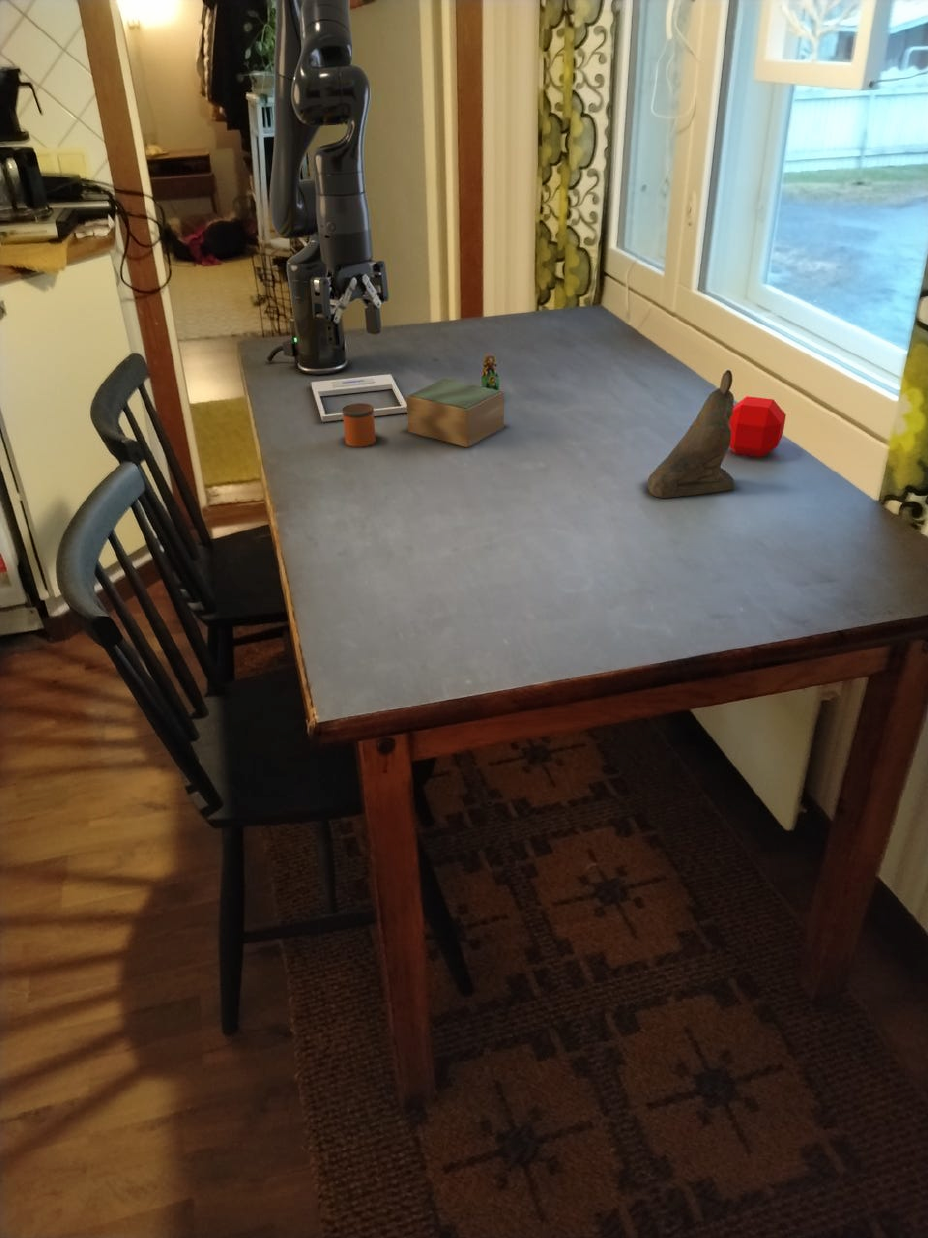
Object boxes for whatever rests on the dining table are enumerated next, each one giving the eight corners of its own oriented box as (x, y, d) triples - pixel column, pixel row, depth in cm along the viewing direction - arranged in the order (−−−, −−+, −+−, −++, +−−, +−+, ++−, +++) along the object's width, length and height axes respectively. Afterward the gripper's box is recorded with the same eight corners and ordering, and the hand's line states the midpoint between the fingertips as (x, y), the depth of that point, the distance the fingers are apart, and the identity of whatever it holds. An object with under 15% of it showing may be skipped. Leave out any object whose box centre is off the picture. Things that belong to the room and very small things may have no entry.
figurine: (495, 388, 172) (495, 343, 167) (503, 412, 162) (502, 364, 157) (478, 389, 171) (477, 344, 167) (485, 413, 161) (484, 365, 157)
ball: (782, 444, 146) (790, 396, 142) (773, 464, 140) (781, 414, 136) (729, 437, 149) (735, 390, 145) (718, 456, 143) (724, 407, 139)
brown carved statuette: (718, 492, 139) (759, 370, 130) (731, 508, 134) (775, 383, 125) (641, 483, 136) (677, 358, 127) (652, 498, 132) (691, 370, 123)
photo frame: (390, 373, 177) (408, 405, 162) (390, 379, 177) (408, 412, 162) (311, 381, 174) (321, 415, 159) (311, 387, 175) (322, 421, 160)
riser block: (408, 432, 155) (405, 394, 152) (445, 413, 162) (444, 377, 159) (467, 447, 149) (466, 409, 146) (504, 427, 156) (503, 390, 152)
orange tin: (339, 442, 152) (335, 410, 149) (359, 432, 156) (356, 400, 153) (362, 449, 150) (359, 416, 147) (382, 439, 153) (380, 406, 150)
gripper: (357, 216, 144) (367, 325, 152) (290, 233, 134) (304, 348, 142) (396, 220, 140) (404, 332, 148) (329, 237, 130) (342, 355, 139)
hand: (355, 340), depth 145 cm, fingers open, 8 cm apart
